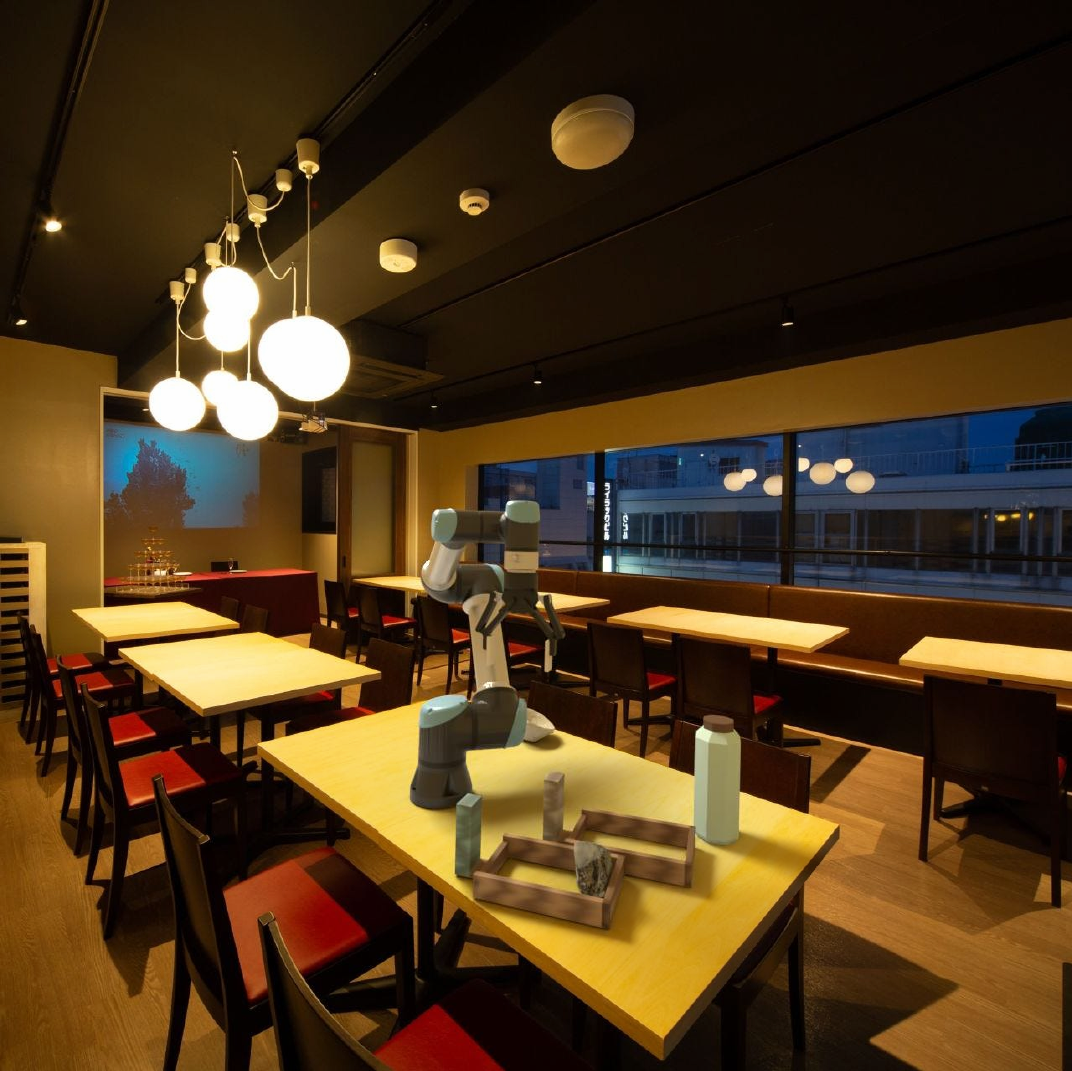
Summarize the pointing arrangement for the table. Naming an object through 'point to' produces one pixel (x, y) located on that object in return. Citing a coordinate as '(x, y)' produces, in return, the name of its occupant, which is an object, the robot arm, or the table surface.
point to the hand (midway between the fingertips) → (518, 667)
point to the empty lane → (625, 826)
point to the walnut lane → (520, 891)
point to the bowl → (537, 726)
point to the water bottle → (717, 781)
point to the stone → (592, 868)
